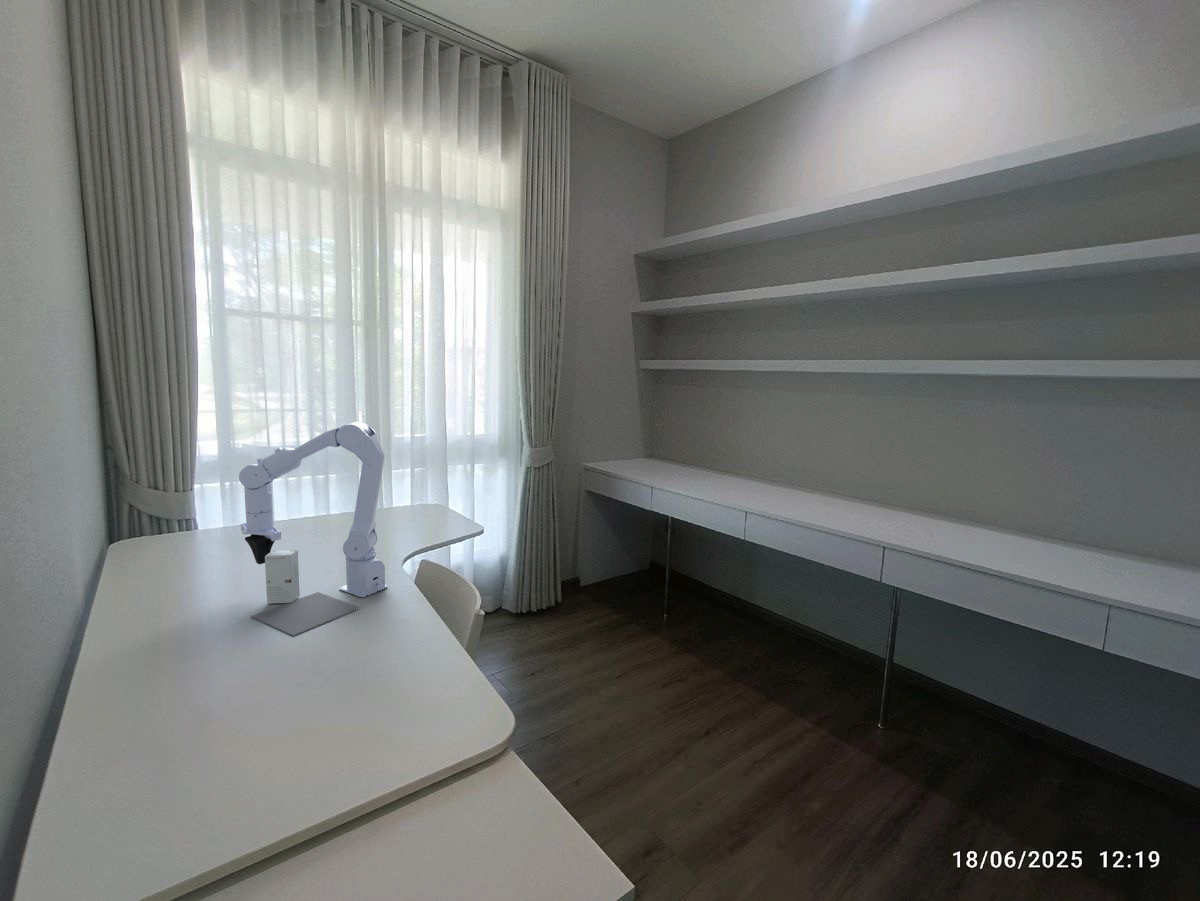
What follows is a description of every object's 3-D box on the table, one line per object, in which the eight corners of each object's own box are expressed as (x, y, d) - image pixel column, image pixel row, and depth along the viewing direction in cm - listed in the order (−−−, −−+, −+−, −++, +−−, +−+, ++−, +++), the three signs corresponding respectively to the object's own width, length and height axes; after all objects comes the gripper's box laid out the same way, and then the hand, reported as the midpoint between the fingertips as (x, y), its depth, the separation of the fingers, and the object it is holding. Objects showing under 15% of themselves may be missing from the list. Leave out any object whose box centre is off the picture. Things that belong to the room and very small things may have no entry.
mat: (359, 608, 123) (359, 607, 123) (293, 636, 109) (293, 635, 109) (317, 593, 131) (317, 592, 131) (251, 617, 117) (251, 615, 117)
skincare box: (266, 604, 123) (262, 556, 122) (275, 597, 128) (271, 550, 126) (293, 602, 124) (289, 554, 123) (301, 595, 129) (298, 549, 127)
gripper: (226, 509, 127) (229, 561, 129) (258, 518, 121) (261, 573, 122) (256, 504, 134) (259, 553, 135) (288, 512, 127) (291, 564, 129)
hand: (262, 562), depth 129 cm, fingers closed
